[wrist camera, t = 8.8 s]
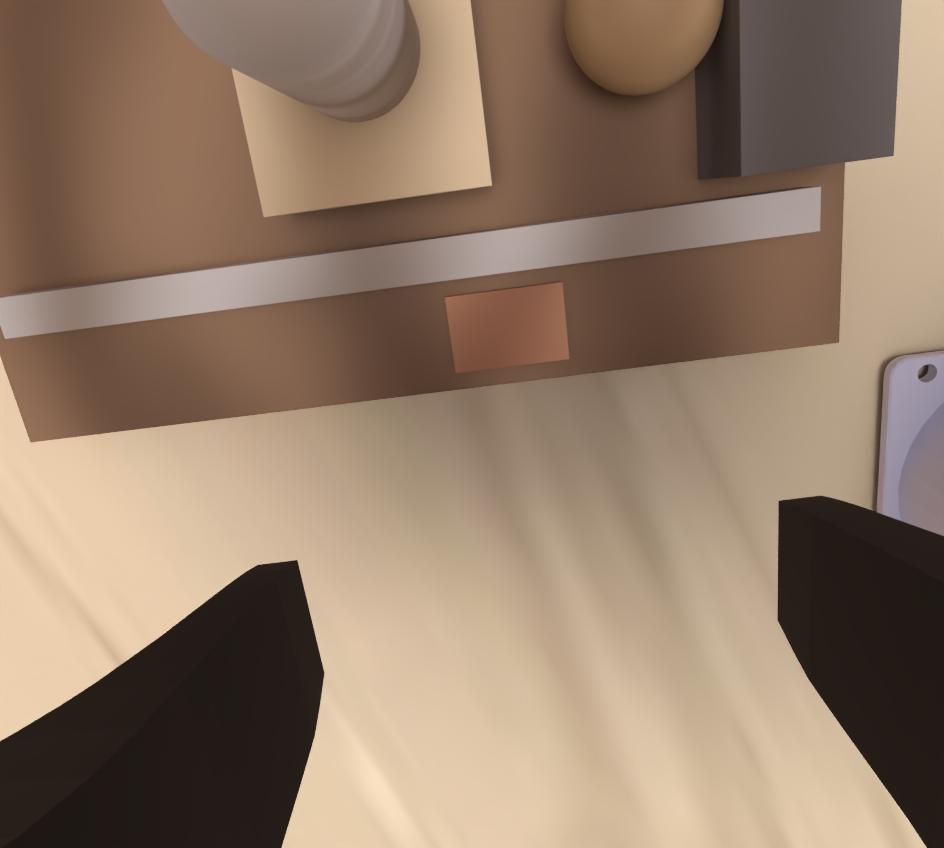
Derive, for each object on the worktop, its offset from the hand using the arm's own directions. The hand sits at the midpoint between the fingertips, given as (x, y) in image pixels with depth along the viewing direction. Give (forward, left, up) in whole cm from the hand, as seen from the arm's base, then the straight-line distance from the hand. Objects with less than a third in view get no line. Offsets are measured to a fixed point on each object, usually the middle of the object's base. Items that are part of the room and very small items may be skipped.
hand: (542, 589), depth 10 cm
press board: (+2, -9, -10) cm, 14 cm away
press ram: (+2, -9, -9) cm, 13 cm away
